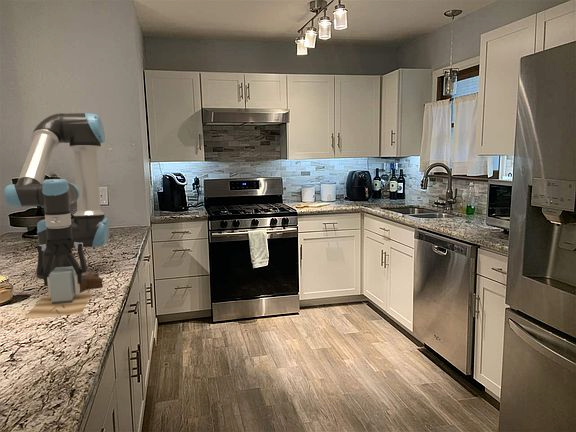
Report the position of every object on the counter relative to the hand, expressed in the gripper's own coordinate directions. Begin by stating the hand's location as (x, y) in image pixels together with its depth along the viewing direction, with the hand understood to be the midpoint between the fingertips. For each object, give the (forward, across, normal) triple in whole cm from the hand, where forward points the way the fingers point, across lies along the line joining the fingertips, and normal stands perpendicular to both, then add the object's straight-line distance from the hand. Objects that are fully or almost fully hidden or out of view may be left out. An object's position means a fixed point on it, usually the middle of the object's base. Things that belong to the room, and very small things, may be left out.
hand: (64, 294), depth 152 cm
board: (+2, 0, -6) cm, 6 cm away
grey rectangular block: (+2, 0, 0) cm, 2 cm away
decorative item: (+3, +2, +14) cm, 15 cm away
